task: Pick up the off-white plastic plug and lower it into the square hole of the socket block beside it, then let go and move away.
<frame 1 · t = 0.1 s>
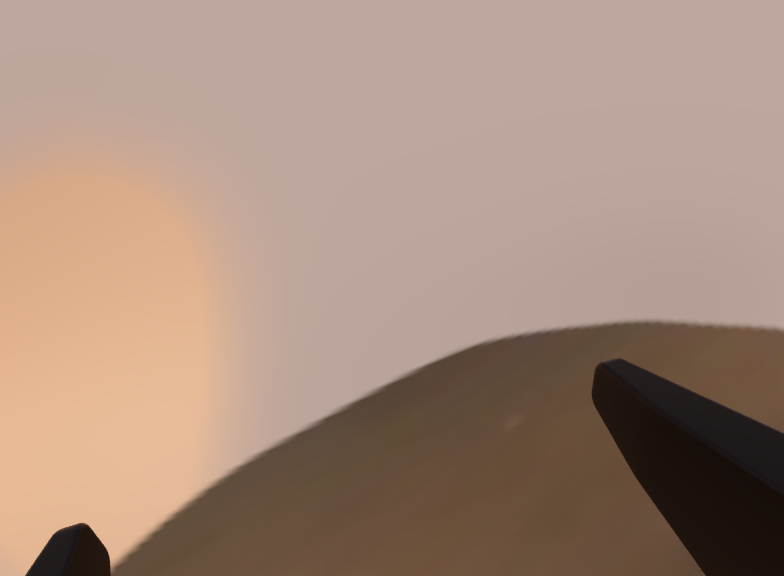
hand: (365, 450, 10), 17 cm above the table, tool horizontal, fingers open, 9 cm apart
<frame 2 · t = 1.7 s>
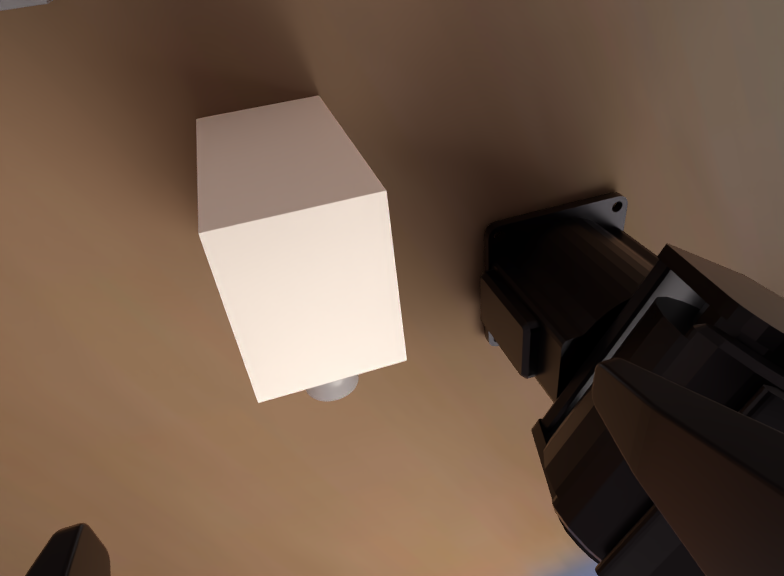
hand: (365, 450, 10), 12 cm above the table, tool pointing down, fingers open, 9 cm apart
plug: (276, 178, 19), on the table
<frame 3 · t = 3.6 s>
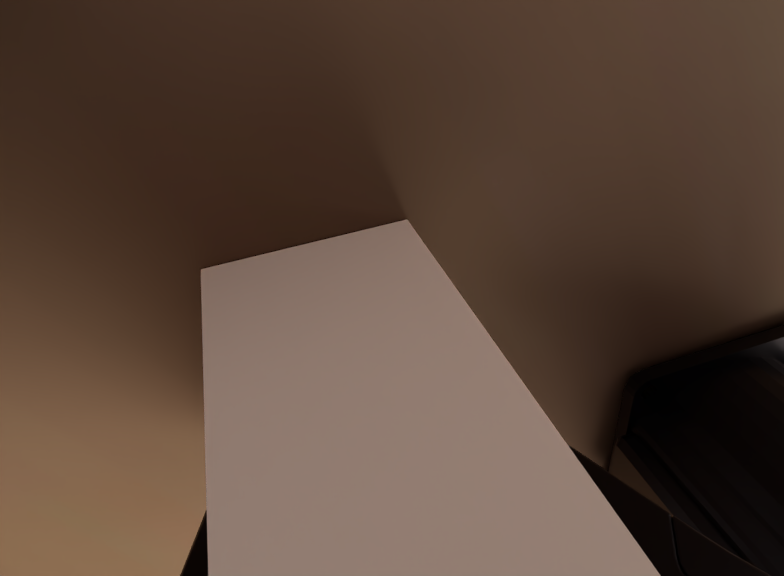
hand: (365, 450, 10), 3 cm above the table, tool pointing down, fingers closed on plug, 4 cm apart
plug: (329, 342, 12), on the table, touching gripper
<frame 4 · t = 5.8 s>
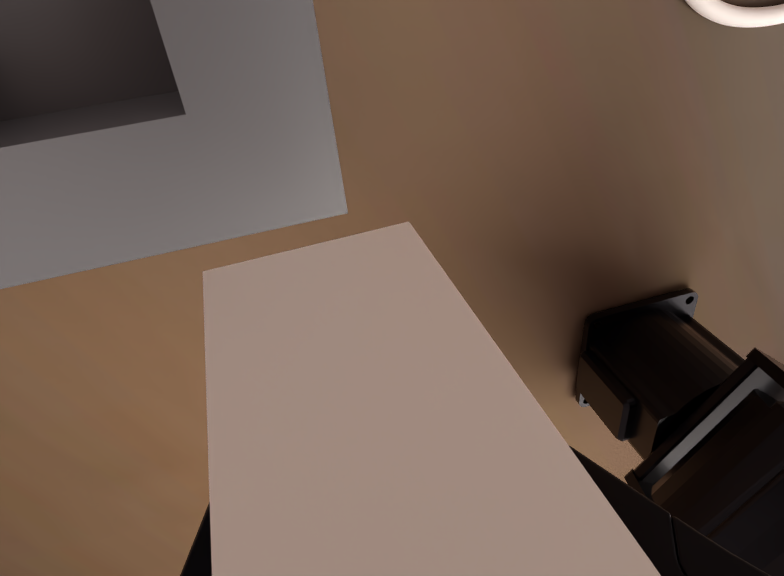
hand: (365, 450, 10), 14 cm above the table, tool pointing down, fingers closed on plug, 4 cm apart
plug: (331, 344, 12), point 11 cm above the table, touching gripper
when the fingers open (4 cm above the table, at t = 8.4 s): plug stays where it is, resting on socket block.
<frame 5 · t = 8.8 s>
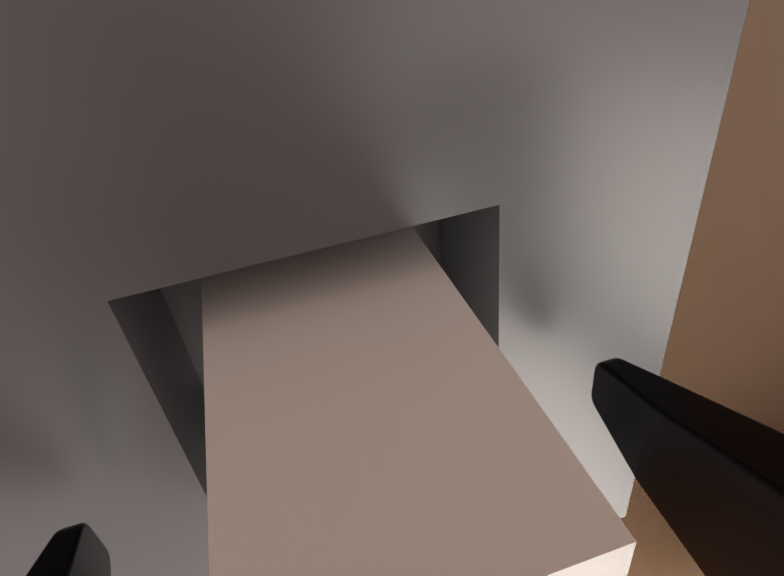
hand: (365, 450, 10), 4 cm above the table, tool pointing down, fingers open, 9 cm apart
socket block: (316, 304, 13), on the table
plug: (321, 317, 13), resting on socket block
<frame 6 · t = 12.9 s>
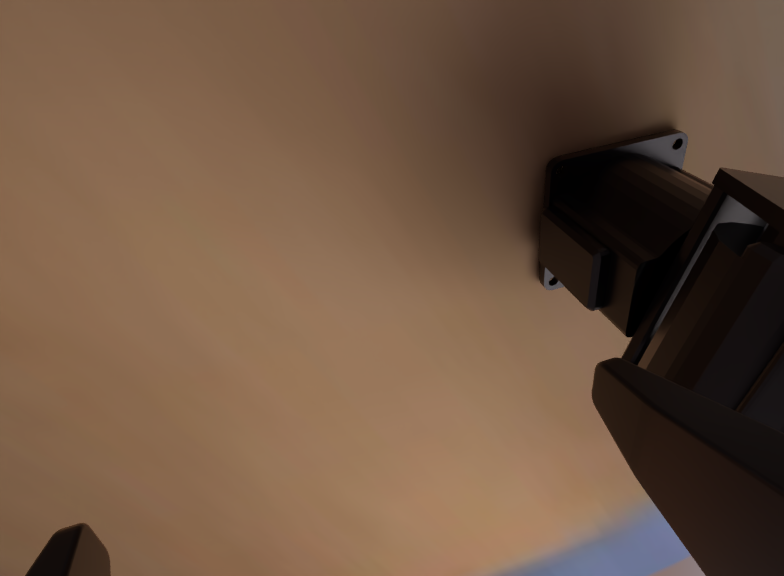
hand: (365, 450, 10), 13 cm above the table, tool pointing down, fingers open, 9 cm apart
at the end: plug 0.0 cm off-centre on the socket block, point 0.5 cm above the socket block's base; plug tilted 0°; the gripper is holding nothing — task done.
